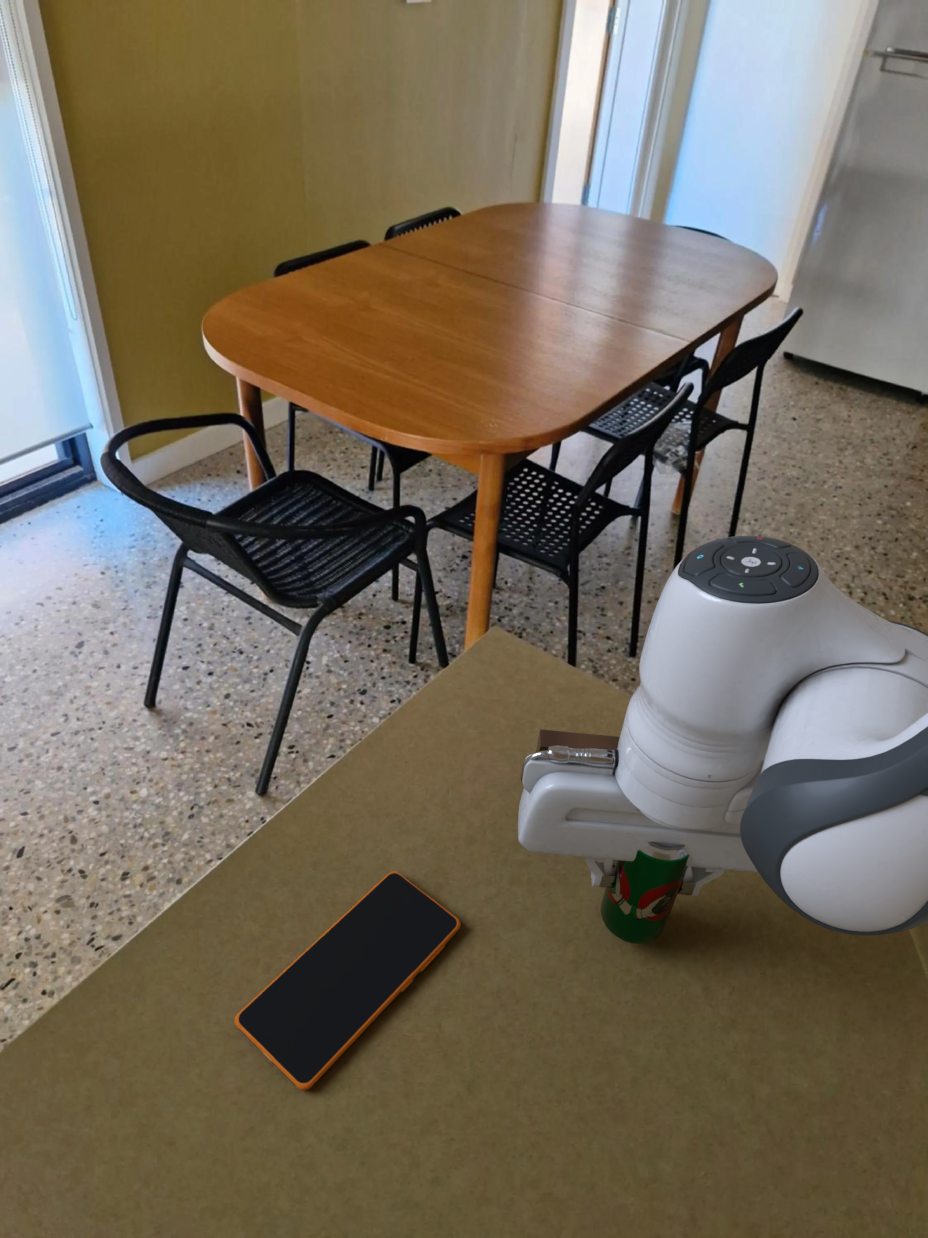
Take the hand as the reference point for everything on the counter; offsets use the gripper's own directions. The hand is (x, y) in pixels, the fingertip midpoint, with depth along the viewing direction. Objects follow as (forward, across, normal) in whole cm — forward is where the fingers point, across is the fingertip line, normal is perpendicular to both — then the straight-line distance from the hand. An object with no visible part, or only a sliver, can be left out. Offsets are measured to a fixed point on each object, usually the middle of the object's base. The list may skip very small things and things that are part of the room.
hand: (643, 883), depth 66 cm
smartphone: (+6, -21, -6) cm, 23 cm away
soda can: (+5, 0, 0) cm, 5 cm away
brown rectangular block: (+6, 0, +14) cm, 15 cm away
